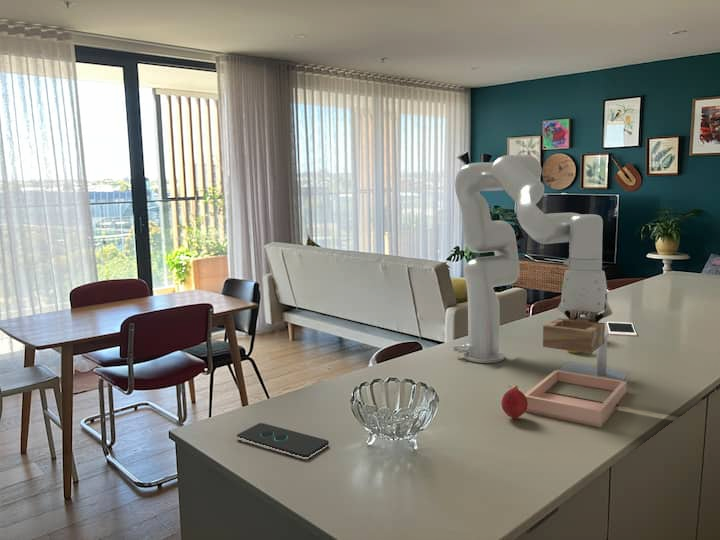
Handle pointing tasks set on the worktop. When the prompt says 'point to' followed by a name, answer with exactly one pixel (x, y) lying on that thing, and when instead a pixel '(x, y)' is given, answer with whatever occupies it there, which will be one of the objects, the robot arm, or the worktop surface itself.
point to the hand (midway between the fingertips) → (583, 337)
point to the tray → (575, 399)
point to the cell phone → (621, 328)
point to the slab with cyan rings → (284, 439)
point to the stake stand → (600, 368)
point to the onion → (514, 403)
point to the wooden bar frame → (574, 334)
